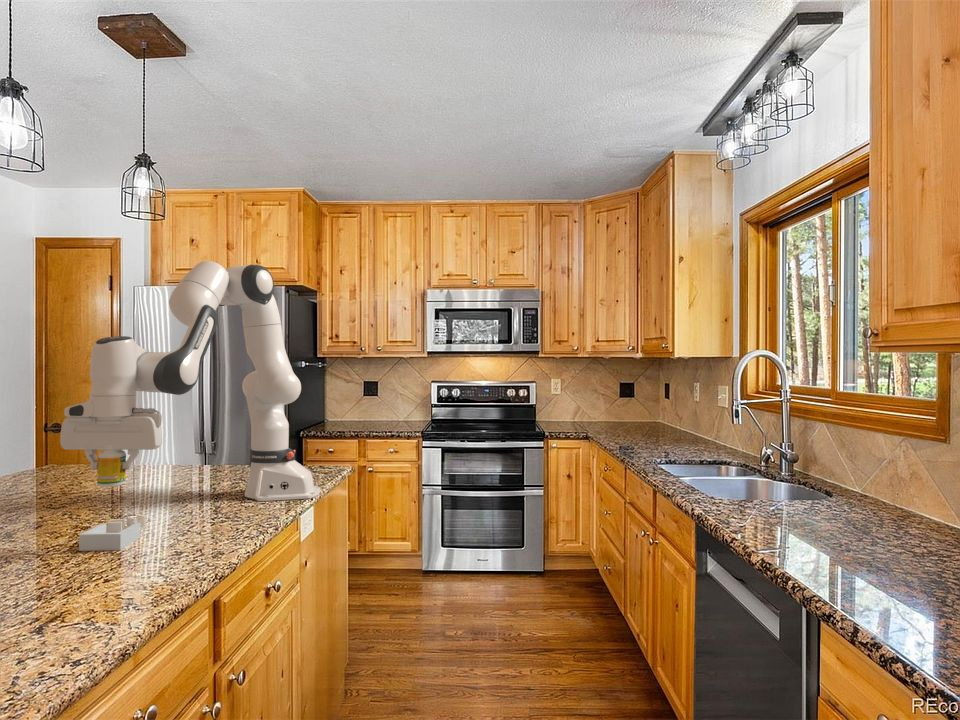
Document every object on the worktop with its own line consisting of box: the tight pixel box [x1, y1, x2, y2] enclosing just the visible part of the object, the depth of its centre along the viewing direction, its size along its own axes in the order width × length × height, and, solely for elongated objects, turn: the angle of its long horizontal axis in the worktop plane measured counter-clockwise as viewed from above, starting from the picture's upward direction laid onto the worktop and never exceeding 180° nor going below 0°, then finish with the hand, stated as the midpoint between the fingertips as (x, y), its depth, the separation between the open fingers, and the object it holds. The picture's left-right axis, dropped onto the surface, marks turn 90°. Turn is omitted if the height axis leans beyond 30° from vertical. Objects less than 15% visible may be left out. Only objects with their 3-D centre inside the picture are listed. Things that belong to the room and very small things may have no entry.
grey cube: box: [106, 518, 126, 533], centre depth 133 cm, size 3×3×3 cm
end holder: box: [78, 522, 141, 552], centre depth 126 cm, size 8×8×4 cm
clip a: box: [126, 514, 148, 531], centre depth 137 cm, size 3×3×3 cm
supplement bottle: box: [96, 443, 127, 488], centre depth 126 cm, size 5×5×10 cm
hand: (111, 469), depth 126 cm, fingers closed on supplement bottle, 5 cm apart
